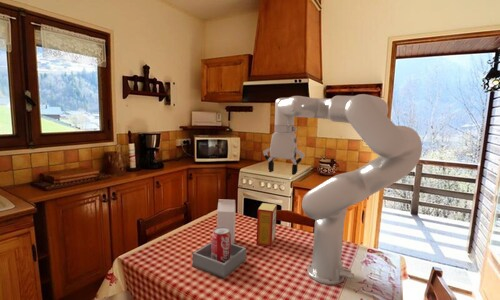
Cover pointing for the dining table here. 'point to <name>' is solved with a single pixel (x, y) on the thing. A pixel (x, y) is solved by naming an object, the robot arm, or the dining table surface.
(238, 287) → the dining table surface
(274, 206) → the baking soda box
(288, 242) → the dining table surface
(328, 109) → the robot arm
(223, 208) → the milk carton
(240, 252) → the bin
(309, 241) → the dining table surface
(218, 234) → the soda can
